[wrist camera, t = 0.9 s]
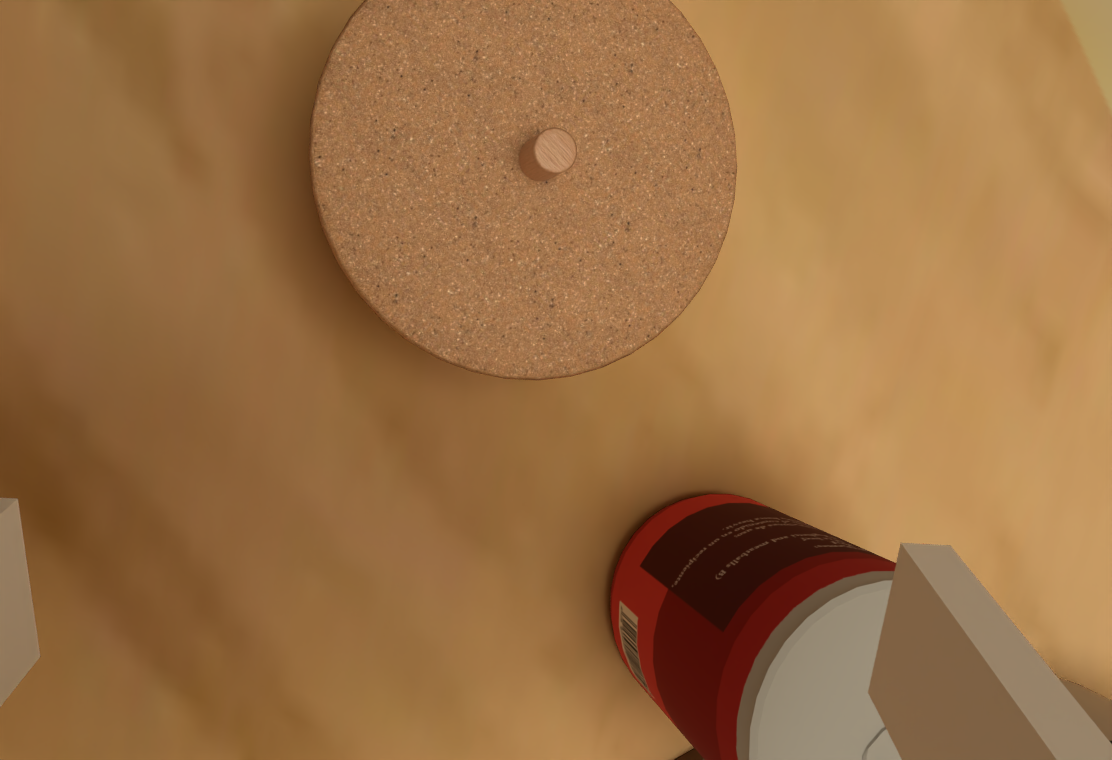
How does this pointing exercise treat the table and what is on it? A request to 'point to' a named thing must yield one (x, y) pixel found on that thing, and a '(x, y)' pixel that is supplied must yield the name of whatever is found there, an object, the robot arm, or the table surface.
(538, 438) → the table surface
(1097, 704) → the lumpy-topped squat cylinder
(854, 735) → the canned food
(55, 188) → the table surface
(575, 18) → the lidded jar
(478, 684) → the table surface
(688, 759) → the ring plate
